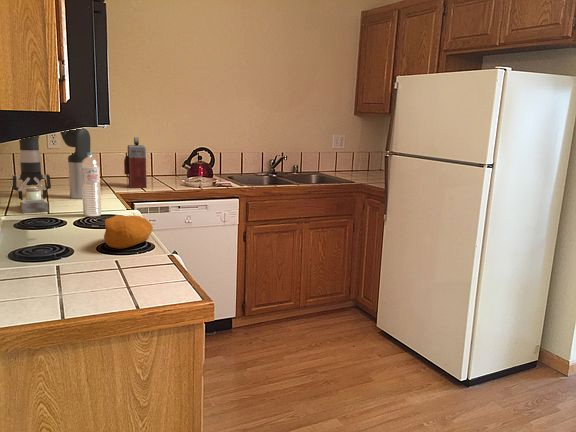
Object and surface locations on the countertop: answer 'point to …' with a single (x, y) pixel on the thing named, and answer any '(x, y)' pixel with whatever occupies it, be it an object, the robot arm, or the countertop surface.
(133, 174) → the red grey square bottle
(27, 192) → the sage jar
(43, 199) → the plate
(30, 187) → the terracotta jar
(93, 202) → the water bottle
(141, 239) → the bread
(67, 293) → the countertop surface
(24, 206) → the lane
